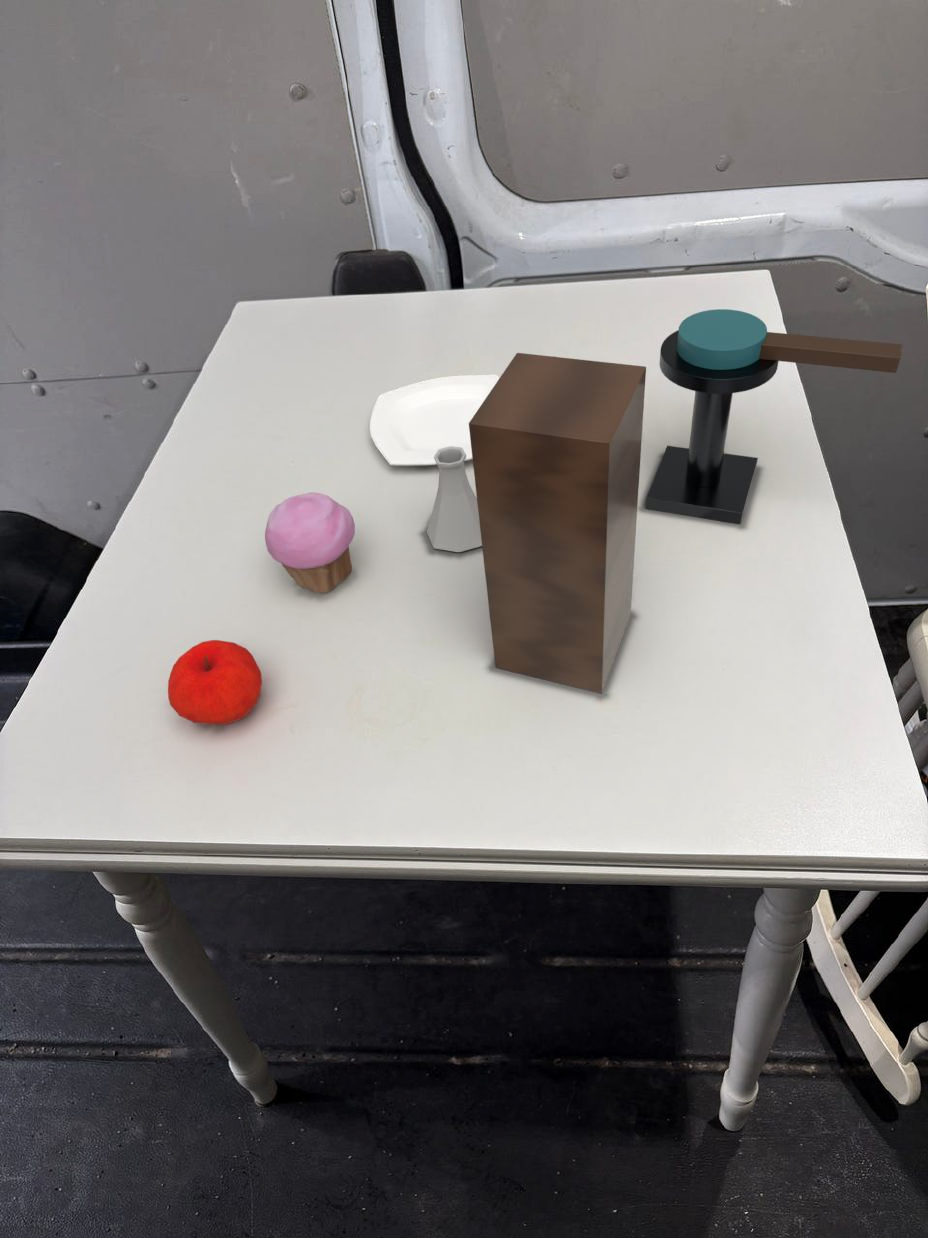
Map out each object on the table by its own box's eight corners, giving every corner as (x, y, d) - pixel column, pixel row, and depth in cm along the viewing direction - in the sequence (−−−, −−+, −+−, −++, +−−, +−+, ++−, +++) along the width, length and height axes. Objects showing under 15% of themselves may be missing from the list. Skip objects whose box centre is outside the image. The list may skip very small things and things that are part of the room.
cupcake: (381, 566, 88) (363, 489, 81) (332, 619, 83) (308, 543, 76) (315, 543, 91) (292, 468, 84) (264, 593, 87) (236, 518, 79)
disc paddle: (899, 344, 77) (905, 323, 76) (894, 389, 72) (900, 368, 71) (686, 324, 84) (688, 305, 82) (668, 364, 79) (670, 345, 77)
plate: (540, 459, 98) (540, 445, 97) (378, 488, 97) (375, 474, 96) (509, 378, 111) (508, 365, 110) (366, 403, 111) (364, 389, 109)
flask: (493, 552, 87) (486, 474, 80) (425, 556, 88) (411, 479, 81) (493, 508, 93) (486, 431, 85) (428, 513, 93) (416, 437, 86)
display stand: (761, 466, 93) (787, 327, 81) (744, 528, 86) (771, 385, 74) (662, 452, 97) (674, 317, 85) (639, 510, 90) (648, 372, 78)
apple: (184, 755, 73) (153, 703, 68) (184, 688, 78) (156, 635, 73) (275, 733, 74) (251, 679, 68) (268, 668, 79) (246, 613, 74)
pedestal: (630, 615, 79) (646, 366, 61) (601, 693, 73) (609, 443, 55) (530, 594, 83) (516, 352, 64) (495, 668, 76) (468, 423, 58)
